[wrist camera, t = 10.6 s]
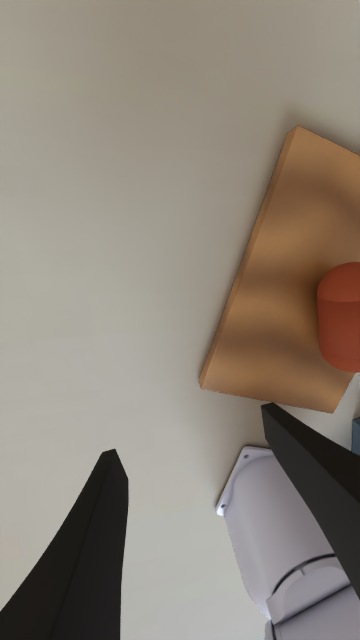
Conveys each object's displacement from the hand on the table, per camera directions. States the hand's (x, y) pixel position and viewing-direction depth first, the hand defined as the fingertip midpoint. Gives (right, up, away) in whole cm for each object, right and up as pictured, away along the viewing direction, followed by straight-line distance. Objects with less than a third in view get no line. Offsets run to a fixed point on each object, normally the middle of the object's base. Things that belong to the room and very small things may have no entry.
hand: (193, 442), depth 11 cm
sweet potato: (+11, +6, +8) cm, 15 cm away
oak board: (+11, +8, +9) cm, 16 cm away
